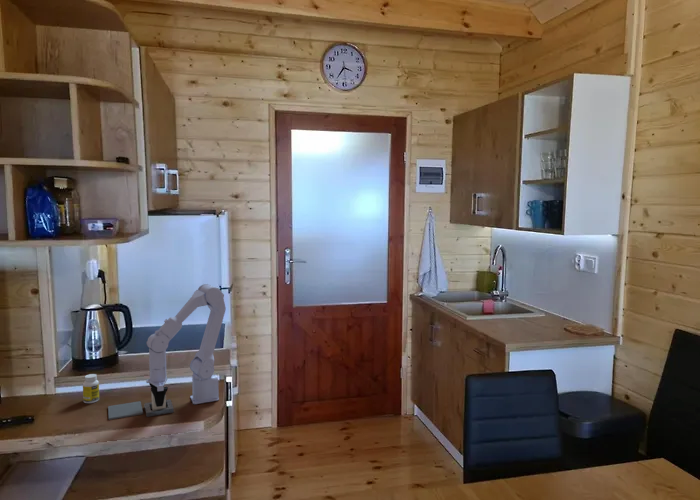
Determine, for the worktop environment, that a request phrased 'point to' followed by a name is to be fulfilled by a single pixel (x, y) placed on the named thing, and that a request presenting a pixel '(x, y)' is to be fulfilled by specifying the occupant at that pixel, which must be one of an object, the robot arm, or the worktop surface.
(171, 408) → the square socket
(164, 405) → the square peg block
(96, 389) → the supplement bottle
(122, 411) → the rubber mat
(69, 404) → the worktop surface
